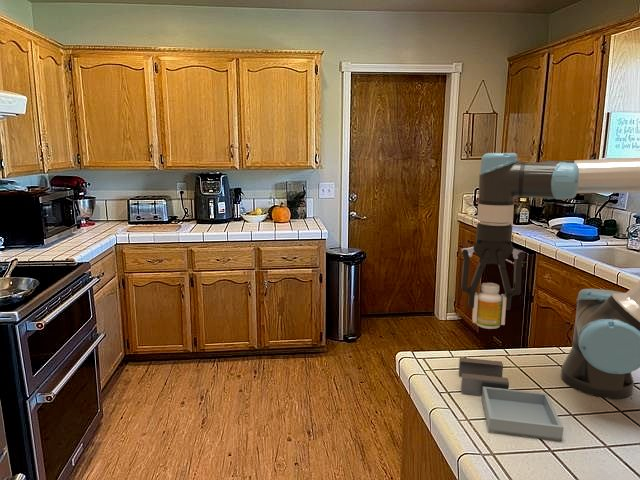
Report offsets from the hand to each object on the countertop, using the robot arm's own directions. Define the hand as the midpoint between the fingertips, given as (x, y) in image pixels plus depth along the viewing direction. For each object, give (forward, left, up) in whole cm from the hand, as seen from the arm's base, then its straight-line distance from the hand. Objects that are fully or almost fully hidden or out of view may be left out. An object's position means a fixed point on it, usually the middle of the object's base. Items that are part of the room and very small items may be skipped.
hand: (488, 321), depth 111 cm
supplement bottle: (0, 0, -1) cm, 1 cm away
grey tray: (-6, +13, -16) cm, 22 cm away
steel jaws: (0, 0, -16) cm, 16 cm away
